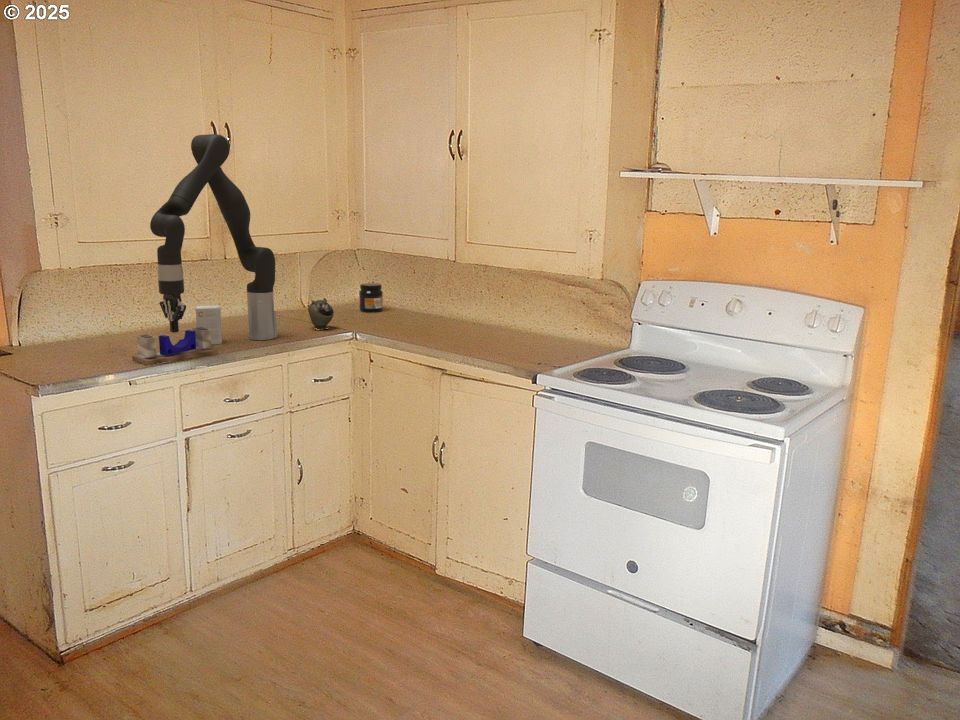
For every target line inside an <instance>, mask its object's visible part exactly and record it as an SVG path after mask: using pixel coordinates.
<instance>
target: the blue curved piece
mask: <svg viewBox="0 0 960 720" xmlns="http://www.w3.org/2000/svg"><path fill="white" fill-rule="evenodd" d="M171 341H172V340H171V339H170V335H164V334H162V335H158V345H159V352H160V354H161V355H171V354H175V353H180V352H184V351H189V350H193V349H196V335H195V331H193V329H192V330H191V329H187V330H185V331H184V336H183V338H181V339H179V340H178V341H177V342H176V343H174V344H173V343H172V342H171Z"/></svg>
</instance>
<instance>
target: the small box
mask: <svg viewBox="0 0 960 720" xmlns="http://www.w3.org/2000/svg"><path fill="white" fill-rule="evenodd" d="M221 313H222V312H221V305H216V304H215V305H197V306H195V321H196V328H197V327H203V328H207V329H209V330H210V331H211V345H223V332H222V331H223V330H222V314H221Z"/></svg>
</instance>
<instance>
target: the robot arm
mask: <svg viewBox="0 0 960 720" xmlns="http://www.w3.org/2000/svg"><path fill="white" fill-rule="evenodd" d="M230 147H231V146H230V143H229V141H228V139H227V138H226V137H225V136H224V135H222V134H215V133H214V134H213V133H212V134H198V135H195V136H194V137H193V138H192V140H191V143H190V150H191V153H192V154H191V155H192V156H193V158H194V160H195V162H196V166H195V167H194V169H191V170H192V171H190V172H189V173H187V174H186V176H184V177H183V178H182V179H181V180H180V181H179V182H178V184H176V186H175V188H174V189H173V191H172V193H171V194H170V196H169V198H168V200H167V201H166V202H165V203H164V204H163V205H161V207H159V208H158V210H157V211H155V213H154V214H153V216H152V217H151V219H150V223H149V224H150V225H149V227H150V231H151V232H152V234H153V235H154V236H156V237H160V238H165V240H164V244H163V245H159V246H158V247H157V250H156V251H157V252H156V255H157V256H156V257H157V281H158V282H157V283H158V292H159V294H160V295H163V296H162V301H159V306H160V308H161V311H162V314H163V315H164V318H165V319H167V320H168V321H169V331H170V333H178V332H179V330H180V329H179V321H180V320H182V319H183V317H184V314H185V312H186V309H187V306H186V304H183V303H182V302H183V301H182V300H183V299H182V297H181V295H182V294H183V293H185V282H184V270H183V264H182V263H183V262H182V261H183V260H182V248H183V243H184V240H185V239H184V238H185V235H186V226H185V223H184V221H183V219H182V218H181V217H182V216H187V215H188V214H189V213H190V211H192V208H193V206H194V204H195V203H196V201H197V199H198V197H199V195H200V194H201V192H202V191H203V189H204V188H205V186H206V185H207V184H208V186H209V188H210V191H211V192H212V195H213V196H214V197H213V198H214V199H215V201H216V202H217V206H218V209H219V211H220V213H221V215H222V217H223V219H224V221H225V223H226V226H227V228H228V230H229V233H230V235H231V238H232V240H233V244H234V246H235V249H236V251H237V256H238V258H239V261H240V263H241V265H242V267H243V269H245V270H246V271H247V272H250V273H255V274H254V280H253V281H250V282H248V283H247V284H246V297H247V298H246V300H247V320H248V321H247V324H248V339H249V340H252V341H253V340H254V341H268V340H273V339H275V338H278V321H277V319H278V318H277V312H276V311H275V302H274V286H275V284H276V283H275V282H276V256H275V254H274V252H273V250H272V249H270V247H269V248H268V247H264V246H256V245H255V243H254V241H253V239H252V235H251V233H250V223H251V210H250V207H249V205H248V202H247V200H246V198H245V196H244V194H243V192H242V190H241V189H240V188H239V187H238V186H237V185H236V184H235V183H234V182H233V181H232V180H231V179H230V178H229V177H228V176H227V175H226V173H225V172H224V171H223V168H222V167H221V166H223V164H225V162H226V161H227V160H228V158H229V155H230V152H231V148H230Z"/></svg>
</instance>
